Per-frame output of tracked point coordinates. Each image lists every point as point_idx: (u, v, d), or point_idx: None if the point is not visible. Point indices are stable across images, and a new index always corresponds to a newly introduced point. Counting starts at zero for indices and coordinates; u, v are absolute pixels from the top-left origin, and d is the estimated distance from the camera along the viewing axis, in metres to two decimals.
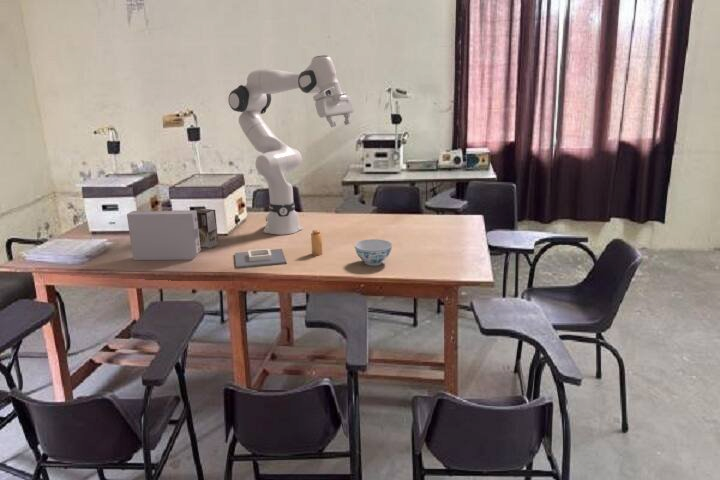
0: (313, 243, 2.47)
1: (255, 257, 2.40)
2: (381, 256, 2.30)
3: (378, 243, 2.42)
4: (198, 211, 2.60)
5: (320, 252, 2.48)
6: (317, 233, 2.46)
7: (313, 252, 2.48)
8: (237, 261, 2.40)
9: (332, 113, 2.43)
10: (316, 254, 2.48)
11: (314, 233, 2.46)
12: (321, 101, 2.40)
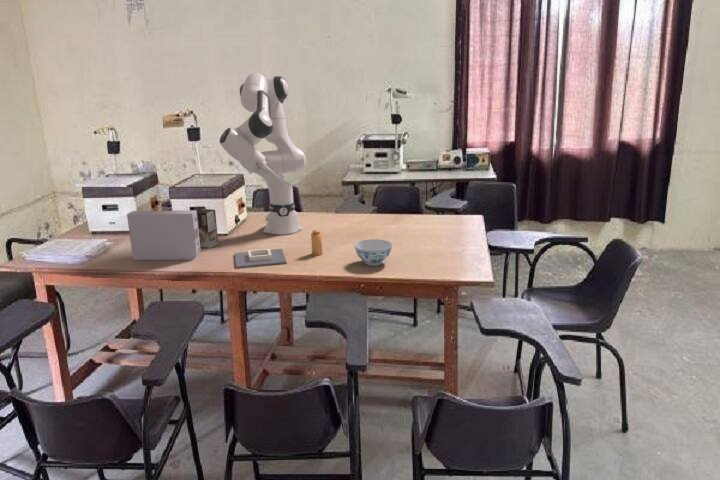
0: (313, 243, 2.47)
1: (255, 257, 2.40)
2: (381, 256, 2.30)
3: (378, 243, 2.42)
4: (198, 211, 2.60)
5: (320, 252, 2.48)
6: (317, 233, 2.46)
7: (313, 252, 2.48)
8: (237, 261, 2.40)
9: None
10: (316, 254, 2.48)
11: (314, 233, 2.46)
12: None
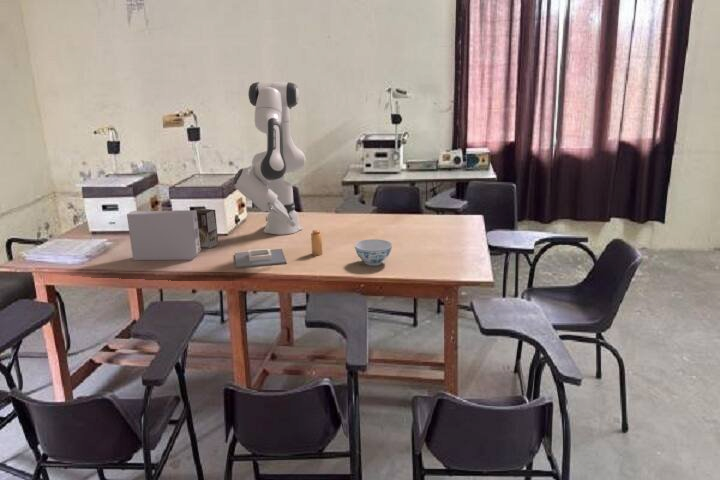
0: (313, 243, 2.47)
1: (255, 257, 2.40)
2: (381, 256, 2.30)
3: (378, 243, 2.42)
4: (198, 211, 2.60)
5: (320, 252, 2.48)
6: (317, 233, 2.46)
7: (313, 252, 2.48)
8: (237, 261, 2.40)
9: None
10: (316, 254, 2.48)
11: (314, 233, 2.46)
12: None
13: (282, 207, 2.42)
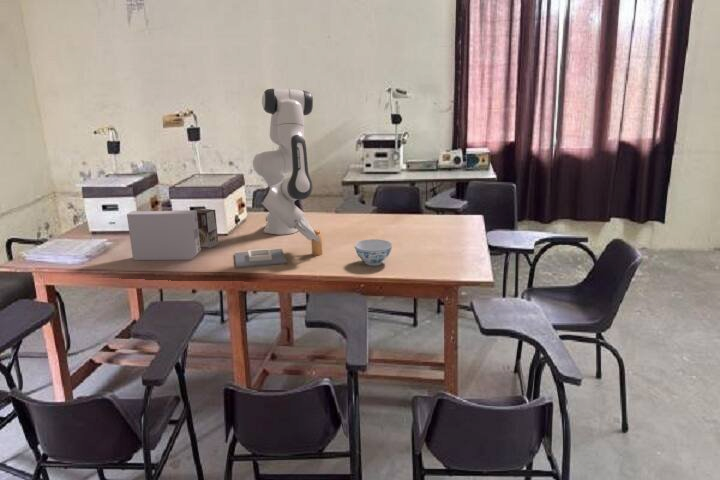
0: (313, 243, 2.47)
1: (255, 257, 2.40)
2: (381, 256, 2.30)
3: (378, 243, 2.42)
4: (198, 211, 2.60)
5: (320, 252, 2.48)
6: (317, 233, 2.46)
7: (313, 252, 2.48)
8: (237, 261, 2.40)
9: None
10: (316, 254, 2.48)
11: None
12: None
13: (307, 224, 2.47)
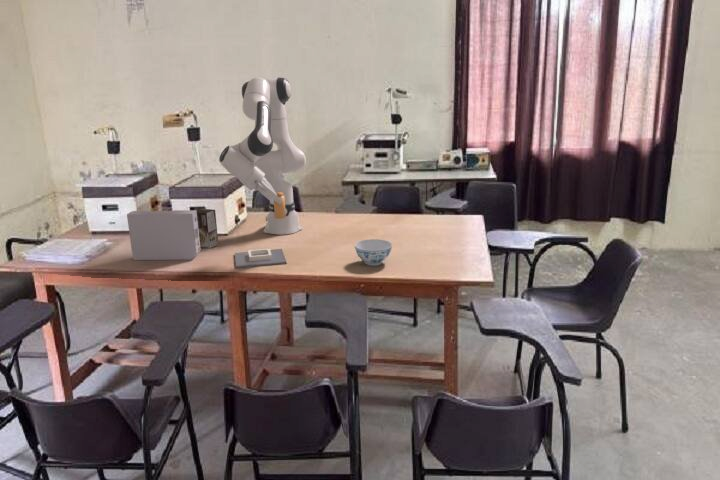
0: (276, 206, 2.38)
1: (255, 257, 2.40)
2: (381, 256, 2.30)
3: (378, 243, 2.42)
4: (198, 211, 2.60)
5: (283, 215, 2.40)
6: (279, 195, 2.38)
7: (276, 215, 2.39)
8: (237, 261, 2.40)
9: None
10: (279, 217, 2.39)
11: None
12: None
13: (270, 186, 2.39)
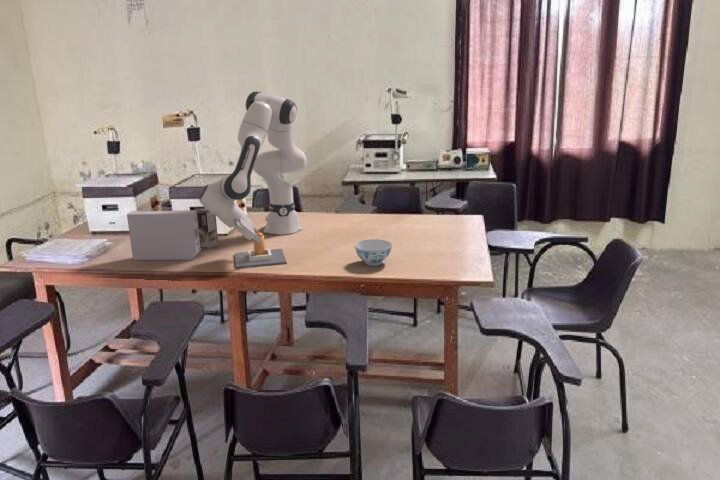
0: (255, 246, 2.41)
1: (255, 257, 2.40)
2: (381, 256, 2.30)
3: (378, 243, 2.42)
4: (198, 211, 2.60)
5: None
6: (259, 236, 2.40)
7: (255, 255, 2.43)
8: (237, 261, 2.40)
9: None
10: None
11: None
12: None
13: (249, 223, 2.41)
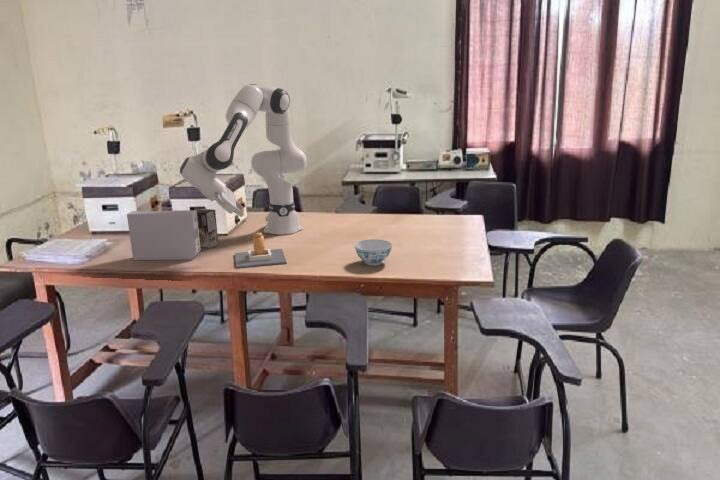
0: (255, 246, 2.41)
1: (255, 257, 2.40)
2: (381, 256, 2.30)
3: (378, 243, 2.42)
4: (198, 211, 2.60)
5: None
6: (259, 236, 2.40)
7: (255, 255, 2.43)
8: (237, 261, 2.40)
9: None
10: None
11: (256, 236, 2.40)
12: None
13: (231, 196, 2.38)
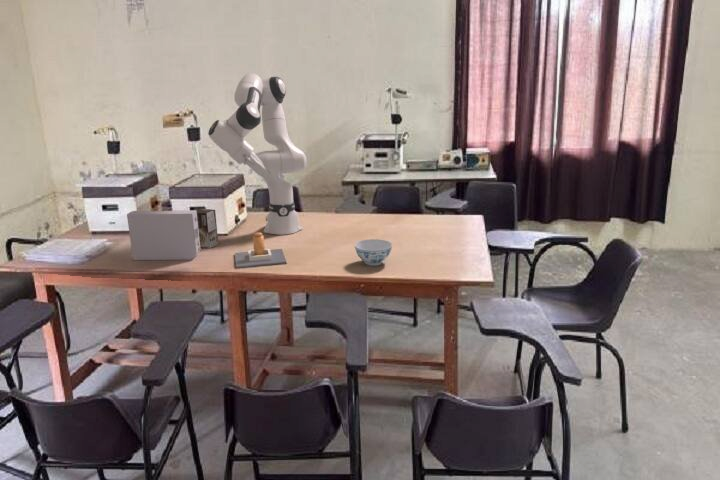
0: (255, 246, 2.41)
1: (255, 257, 2.40)
2: (381, 256, 2.30)
3: (378, 243, 2.42)
4: (198, 211, 2.60)
5: None
6: (258, 236, 2.41)
7: (255, 255, 2.43)
8: (237, 261, 2.40)
9: None
10: None
11: (255, 236, 2.41)
12: None
13: (259, 160, 2.41)
